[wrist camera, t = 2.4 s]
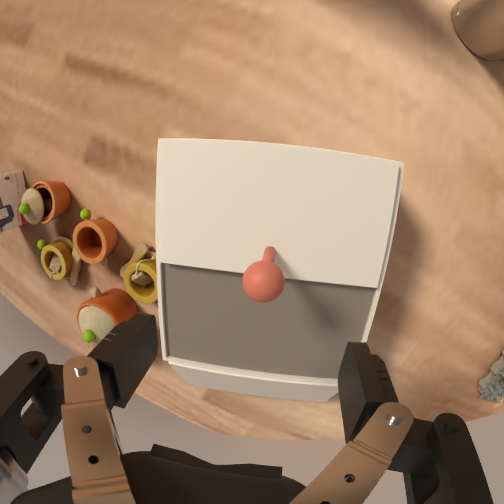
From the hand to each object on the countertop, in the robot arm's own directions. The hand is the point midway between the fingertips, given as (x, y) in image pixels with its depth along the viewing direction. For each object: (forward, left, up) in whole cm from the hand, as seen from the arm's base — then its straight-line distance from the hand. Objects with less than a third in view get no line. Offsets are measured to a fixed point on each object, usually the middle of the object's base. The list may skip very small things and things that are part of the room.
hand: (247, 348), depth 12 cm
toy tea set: (+25, +7, -24) cm, 35 cm away
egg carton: (-40, +20, -25) cm, 51 cm away
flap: (0, -8, -14) cm, 16 cm away
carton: (0, +3, -24) cm, 24 cm away
